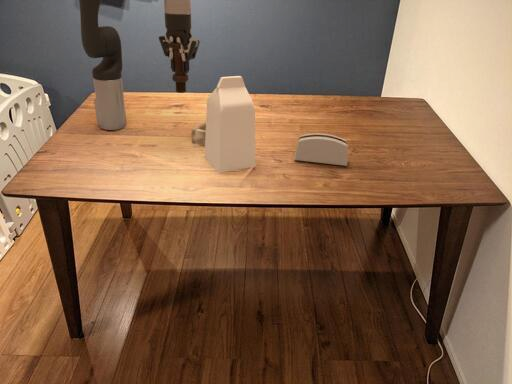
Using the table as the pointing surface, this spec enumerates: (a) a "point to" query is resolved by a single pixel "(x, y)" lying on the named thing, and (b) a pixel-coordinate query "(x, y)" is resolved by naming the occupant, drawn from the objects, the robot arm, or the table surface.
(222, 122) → the milk
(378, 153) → the table surface
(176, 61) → the bolt
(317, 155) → the napkin holder
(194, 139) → the socket block
